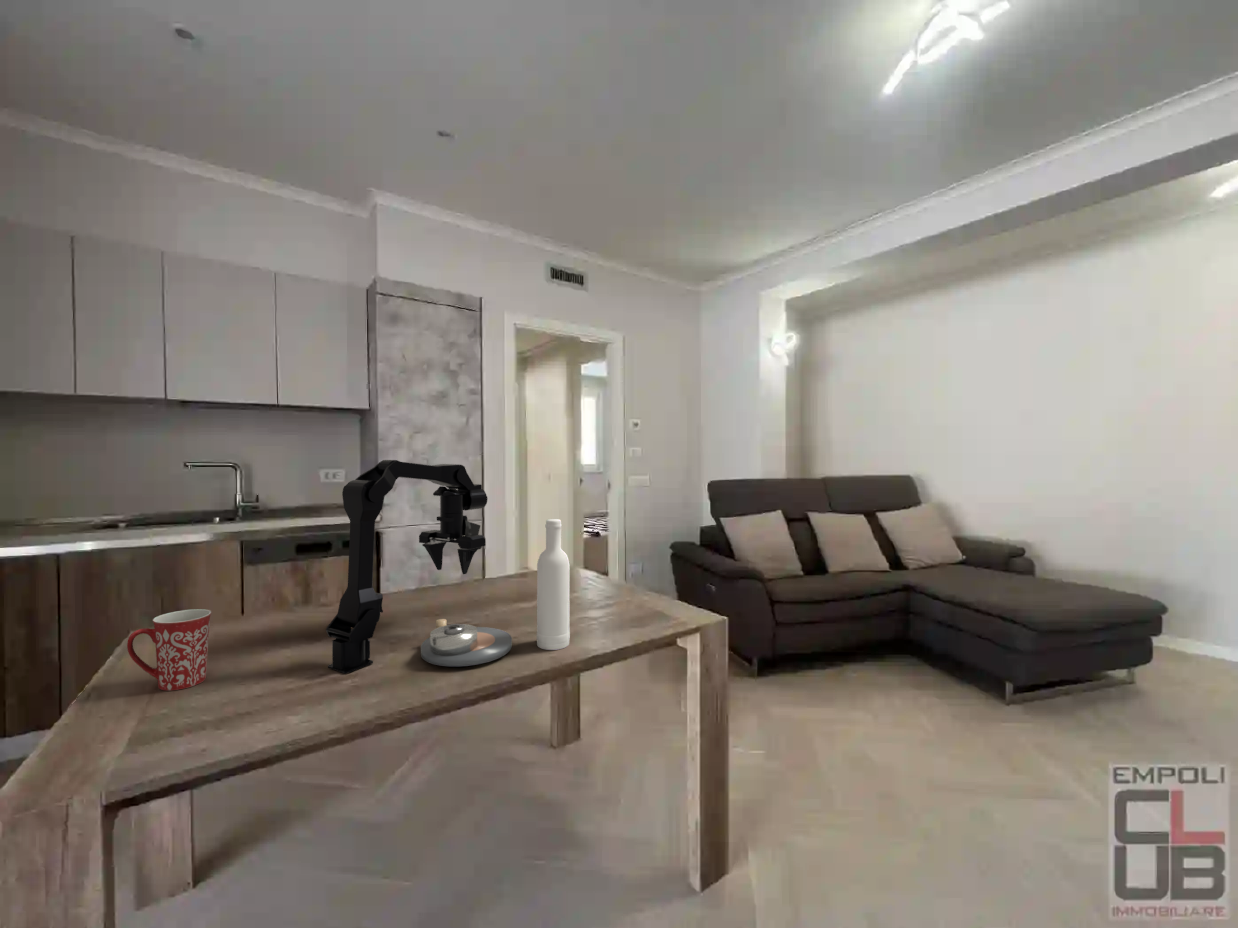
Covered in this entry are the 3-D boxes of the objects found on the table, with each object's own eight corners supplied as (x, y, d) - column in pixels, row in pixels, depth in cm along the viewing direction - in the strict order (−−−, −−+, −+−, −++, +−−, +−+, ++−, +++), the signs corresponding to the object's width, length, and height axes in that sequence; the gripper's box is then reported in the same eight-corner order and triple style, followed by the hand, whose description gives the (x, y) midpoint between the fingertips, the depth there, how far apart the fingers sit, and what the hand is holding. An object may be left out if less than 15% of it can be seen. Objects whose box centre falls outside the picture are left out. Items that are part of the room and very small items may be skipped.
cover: (453, 659, 110) (452, 637, 110) (420, 650, 115) (420, 629, 114) (486, 643, 118) (486, 623, 118) (455, 636, 123) (455, 616, 123)
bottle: (566, 636, 130) (566, 517, 130) (573, 648, 123) (573, 521, 122) (534, 640, 128) (534, 518, 127) (539, 652, 120) (539, 522, 120)
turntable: (466, 673, 106) (466, 648, 106) (401, 654, 116) (401, 631, 116) (529, 642, 124) (529, 621, 124) (467, 628, 134) (467, 608, 134)
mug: (214, 669, 110) (214, 605, 110) (209, 685, 102) (208, 617, 102) (134, 683, 103) (133, 615, 103) (122, 702, 96) (120, 629, 95)
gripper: (500, 511, 139) (500, 569, 139) (450, 507, 148) (450, 562, 148) (469, 515, 129) (469, 578, 129) (417, 511, 138) (417, 570, 138)
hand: (451, 571), depth 137 cm, fingers open, 9 cm apart
